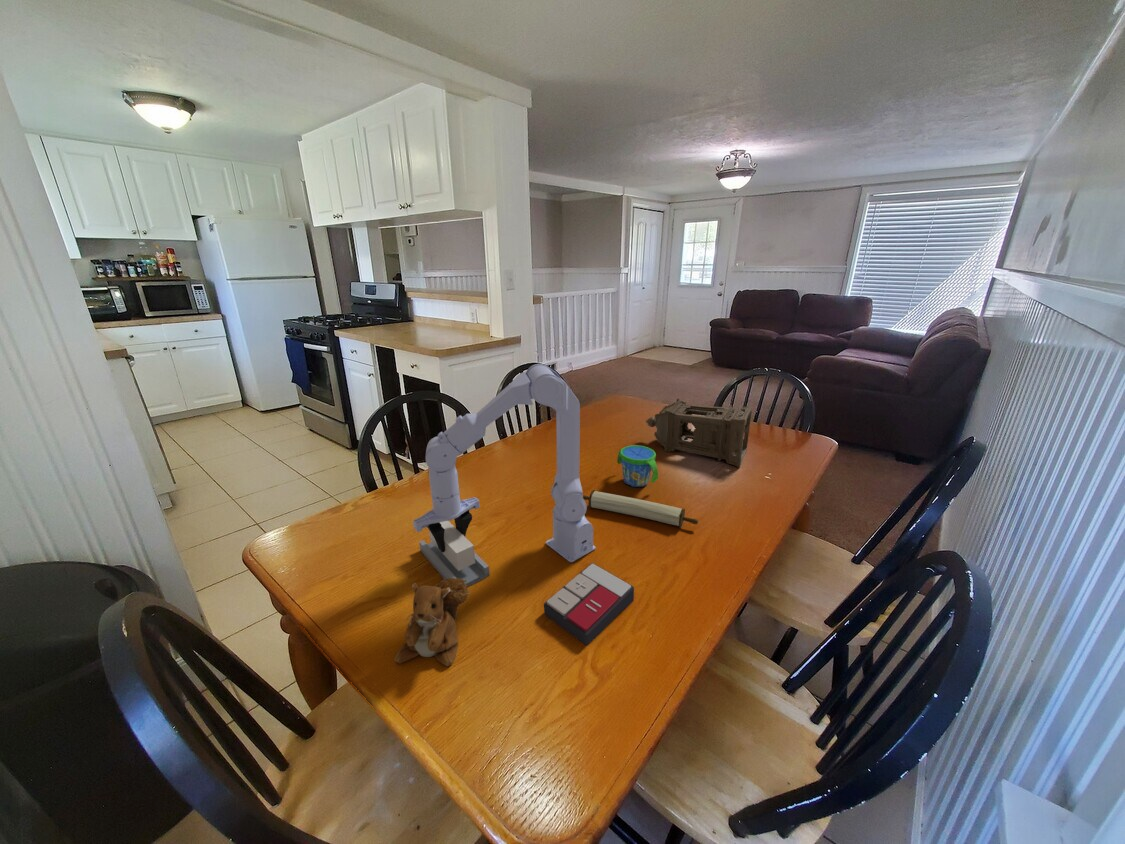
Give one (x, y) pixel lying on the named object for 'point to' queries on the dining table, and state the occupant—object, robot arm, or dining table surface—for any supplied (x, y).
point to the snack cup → (637, 465)
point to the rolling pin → (638, 508)
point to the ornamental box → (704, 430)
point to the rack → (448, 570)
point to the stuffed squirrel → (434, 621)
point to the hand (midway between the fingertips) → (451, 545)
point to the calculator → (589, 603)
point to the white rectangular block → (456, 547)
